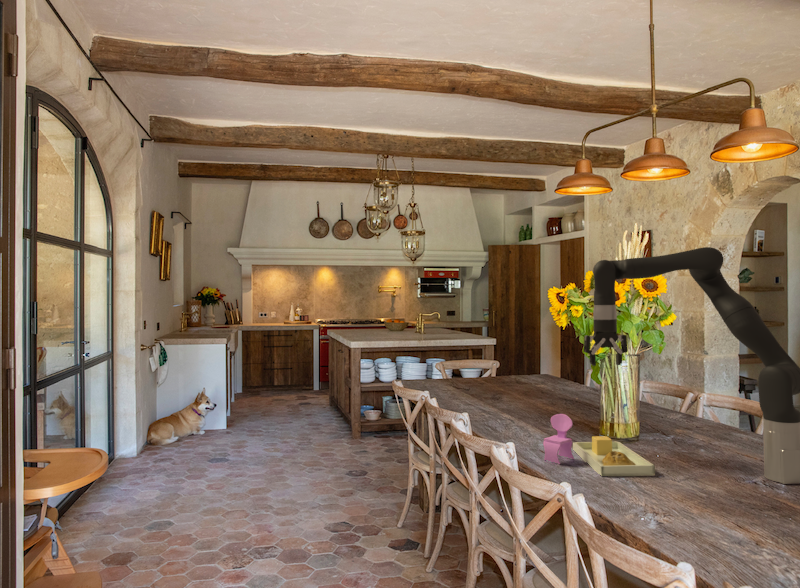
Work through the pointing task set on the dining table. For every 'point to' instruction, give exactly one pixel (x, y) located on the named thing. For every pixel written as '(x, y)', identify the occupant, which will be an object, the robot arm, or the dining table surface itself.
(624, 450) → the tray
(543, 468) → the dining table surface
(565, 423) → the toy chair
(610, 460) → the fossil
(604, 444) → the block
